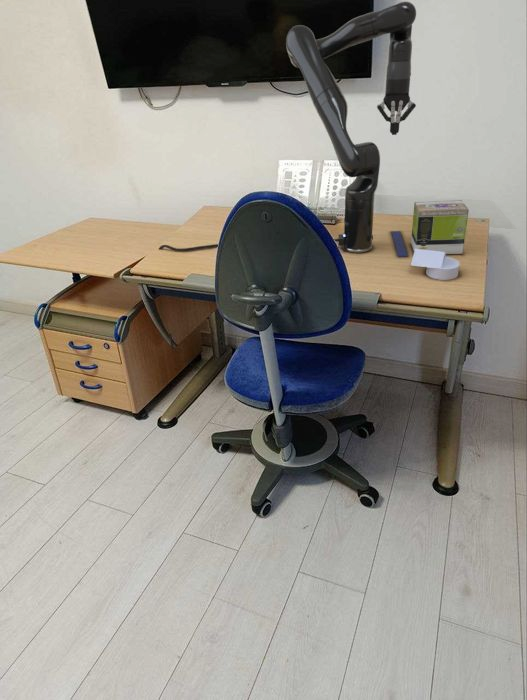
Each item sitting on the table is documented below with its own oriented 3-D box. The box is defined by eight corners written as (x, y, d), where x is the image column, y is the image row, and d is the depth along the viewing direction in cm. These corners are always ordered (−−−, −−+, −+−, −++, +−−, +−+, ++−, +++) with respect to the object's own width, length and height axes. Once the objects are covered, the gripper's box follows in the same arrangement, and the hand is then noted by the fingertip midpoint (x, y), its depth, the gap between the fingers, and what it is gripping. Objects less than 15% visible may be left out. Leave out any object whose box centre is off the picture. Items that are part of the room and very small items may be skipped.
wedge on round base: (409, 275, 150) (455, 281, 145) (412, 254, 146) (459, 259, 141) (415, 263, 156) (459, 269, 151) (418, 243, 153) (463, 247, 148)
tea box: (456, 243, 168) (463, 199, 160) (462, 255, 160) (470, 209, 152) (409, 244, 170) (414, 200, 162) (413, 255, 162) (418, 210, 153)
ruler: (398, 256, 162) (398, 255, 161) (391, 232, 180) (391, 231, 180) (407, 256, 161) (407, 255, 161) (399, 232, 179) (399, 231, 179)
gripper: (417, 74, 164) (412, 131, 173) (376, 76, 166) (373, 133, 175) (421, 76, 158) (415, 135, 167) (378, 79, 159) (374, 137, 169)
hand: (393, 134), depth 171 cm, fingers closed
